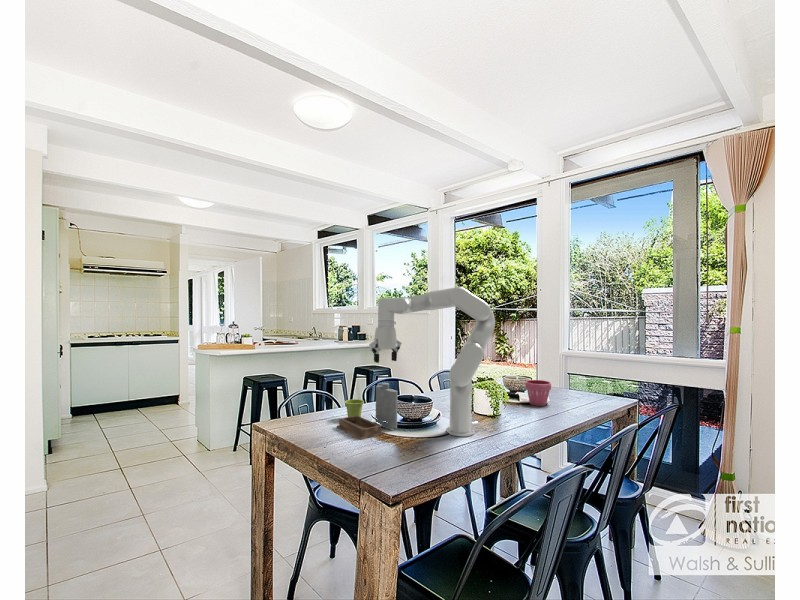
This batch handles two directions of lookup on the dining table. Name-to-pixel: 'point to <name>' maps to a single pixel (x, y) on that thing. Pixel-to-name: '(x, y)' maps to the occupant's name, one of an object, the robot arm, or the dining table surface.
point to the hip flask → (386, 405)
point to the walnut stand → (359, 427)
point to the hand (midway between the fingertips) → (385, 361)
